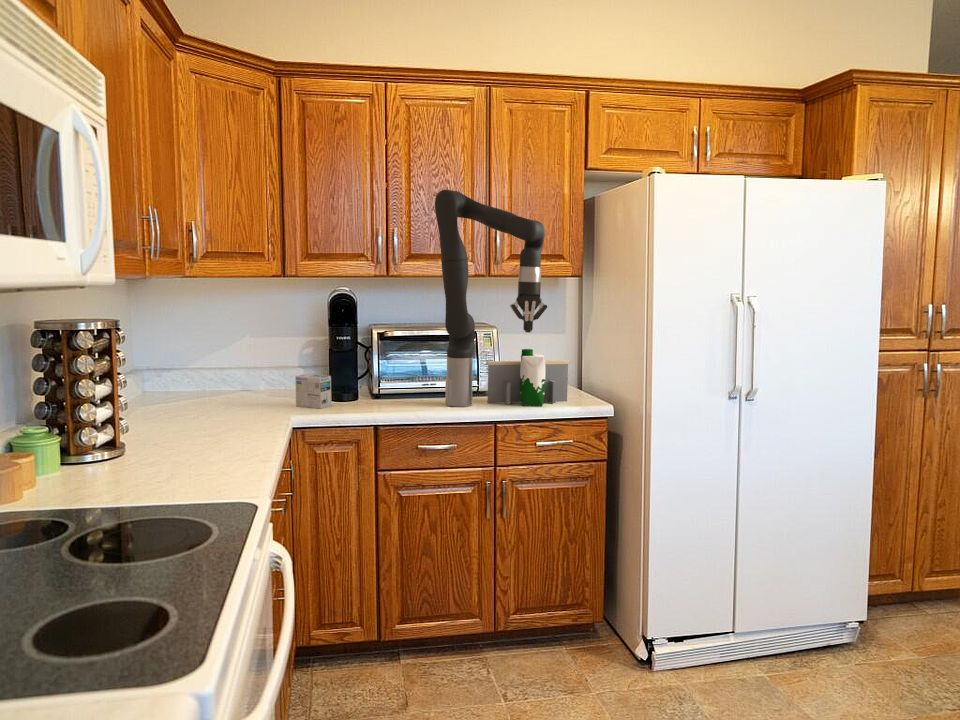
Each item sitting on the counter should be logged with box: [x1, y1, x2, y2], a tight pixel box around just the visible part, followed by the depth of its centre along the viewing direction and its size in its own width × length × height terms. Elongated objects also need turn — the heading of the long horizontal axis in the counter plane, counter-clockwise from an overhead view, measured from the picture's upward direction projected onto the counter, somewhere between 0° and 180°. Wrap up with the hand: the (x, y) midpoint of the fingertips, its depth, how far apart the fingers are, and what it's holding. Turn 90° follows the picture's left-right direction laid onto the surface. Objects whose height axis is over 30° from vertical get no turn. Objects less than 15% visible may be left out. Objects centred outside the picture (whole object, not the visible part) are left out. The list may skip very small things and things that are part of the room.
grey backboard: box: [485, 359, 570, 406], centre depth 266 cm, size 31×7×15 cm, turn 102°
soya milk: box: [520, 348, 546, 407], centre depth 262 cm, size 9×9×20 cm
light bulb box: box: [295, 373, 332, 410], centre depth 254 cm, size 11×7×11 cm, turn 68°
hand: (527, 332), depth 246 cm, fingers closed
